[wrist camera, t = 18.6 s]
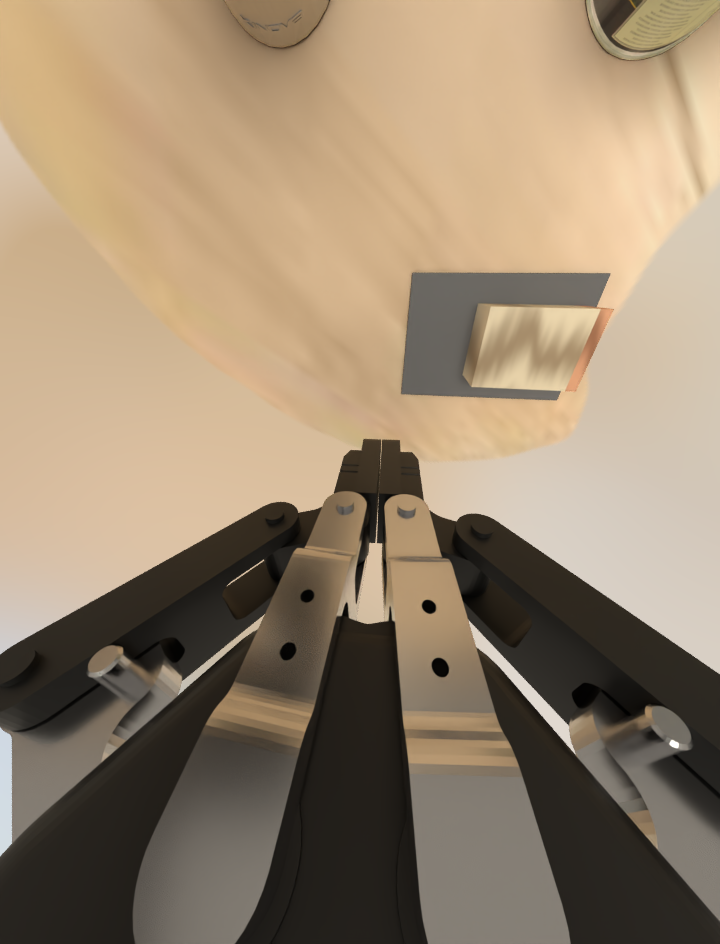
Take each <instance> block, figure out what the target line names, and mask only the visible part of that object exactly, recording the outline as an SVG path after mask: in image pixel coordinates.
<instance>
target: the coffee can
mask: <svg viewBox="0 0 720 944" xmlns="http://www.w3.org/2000/svg"><path fill="white" fill-rule="evenodd" d="M586 6H587V12H588V17H589V21H590V25H591V28H592V30H593V33H594V35H595V37H596V38H597V40H598V42H599V43H600V44H601V46H602V47H603V48H604V49H605V50H606V51H607V52H608V53H610V54H612V55H614V56H616V57H618V58H621V59H626V60H640V59H645V58H649V57H653V56H656V55H658V54H661V53H663V52H665V51H667V50H669V49H671V48H672V47H674V46H675V45H677V44H678V43H680V42H681V41H683V40H684V39H686V38H687V37H688V36H689V35H691V34H692V33H693V32H694V31H696V30H697V29H698V28H699V27H700V26H701V25H702V24H704V23H705V22H706V21H707V20H708V19H709V18H710V17H711V16H712V14H714V13H715V12H716V11H717V10H718V9H720V0H586Z"/></svg>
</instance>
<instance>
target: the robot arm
mask: <svg viewBox="0 0 720 944" xmlns="http://www.w3.org/2000/svg"><path fill="white" fill-rule="evenodd" d="M224 1H225V3H226V4H227V6H228V8H229V9H230V11H231V13H232V14H233V16H234V17H235V18H236V19H237V21H238V22H239V23H240V25H241V26H242V27H243V28H244V30H246V31H247V32H248V33H249V34H250V35H251V36H253V37H254V38H255V39H256V40H258V41H260V42H262V43H264V44H266V45H268V46H272V47H281V48H283V47H287V46H291V45H295V44H296V43H298V42H299V41H301V40H302V39H304V38H305V37H307V36H308V35H309V33H310V32H311V31H312V30H313V29H314V28H315V26H316V25H317V24H318V22H319V20H320V19H321V17H322V15H323V13H324V11H325V10H326V8H327V5H328V2H329V0H224ZM380 454H381V468H380ZM379 480H380V483H379ZM378 496H379V502H378ZM377 510H378V531H377V543H382V583H383V603H384V622H379V623H373V624H364V623H361V622H358V621H357V612H358V606H359V600H360V595H361V590H362V584H363V579H364V573H365V568H366V562H367V555H368V552H369V543H375V539H376V525H377ZM263 559H264V561H263V562H262V563H260V564H259V565H258V566H256V567H255V568H253V569H252V570H250V571H249V572H248V573H246V574H244V575H243V576H241V577H240V578H239V579H237V580H236V581H234V582H233V583H231V584H230V585H228V584H229V583H230V582H231V581H233V580H234V579H236V578H237V577H239V576H240V575H241V574H243V573H244V572H246V571H247V570H249V569H250V568H252V567H253V566H255V565H256V564H258V563H259V562H260V561H262V560H263ZM227 585H228V586H227ZM226 586H227V587H226ZM264 614H265V616H264V617H263V620H262V622H261V624H260V626H259V628H258V630H256V631H254V632H252V633H251V634H249V635H248V636H247V637H245V638H244V639H242V640H241V641H240V642H239V643H238V644H237V645H235V646H234V647H233V648H232V649H231V650H230V651H229V652H227V653H226V654H225V655H224V656H223V657H222V658H220V659H219V660H218V661H217V662H216V663H215V664H214V665H212V666H211V667H210V668H209V669H208V670H207V671H206V672H205V673H203V674H202V675H201V676H200V677H199V678H198V679H196V680H195V681H194V682H193V683H192V684H191V685H190V686H188V687H187V688H186V689H185V690H184V691H183V692H182V693H180V694H179V695H178V693H179V690H180V687H181V683H182V681H183V680H184V679H185V678H187V677H188V676H189V675H190V674H191V673H193V672H194V671H195V670H196V669H198V668H199V667H200V666H201V665H203V664H204V663H205V662H206V661H207V660H209V659H210V658H211V657H212V656H214V655H215V654H216V653H217V652H218V651H220V650H221V649H222V648H224V647H225V646H226V645H227V644H228V643H229V642H231V641H232V640H233V639H234V638H236V637H237V636H238V635H239V634H241V633H242V632H243V631H244V630H245V629H247V628H248V627H249V626H251V625H252V624H253V623H254V622H256V621H257V620H258V619H259V618H260V617H262V616H263V615H264ZM468 620H469V621H470V622H471V623H472V624H473V625H474V626H475V627H476V628H477V629H478V630H479V631H480V632H481V633H482V634H483V636H484V637H485V638H486V639H487V640H488V641H489V642H490V643H491V644H492V645H493V646H494V647H495V648H496V649H497V650H498V651H499V652H500V653H501V655H502V656H503V657H504V658H505V659H506V660H507V661H508V662H509V663H510V664H511V665H512V666H513V667H514V668H515V669H516V670H517V671H518V672H519V674H520V675H521V676H522V677H523V678H524V679H525V680H526V681H527V682H528V683H529V684H530V685H531V686H532V687H533V688H534V689H535V690H536V691H537V692H538V694H539V695H540V696H541V697H542V698H543V699H544V700H545V701H546V702H547V703H548V704H549V705H550V706H551V707H552V708H553V709H554V710H555V711H556V713H557V714H558V715H559V716H560V717H561V718H562V719H563V720H564V721H565V722H566V723H567V724H568V725H569V731H570V738H571V742H572V745H573V747H574V750H575V753H576V755H575V754H574V753H573V752H572V751H571V749H570V748H569V747H568V746H567V745H566V743H565V742H564V741H563V740H562V739H561V738H560V737H559V736H558V734H557V733H556V732H555V731H554V730H553V728H552V727H551V726H550V725H549V724H548V723H547V722H546V720H545V719H544V718H543V717H542V716H541V715H540V714H539V712H538V711H537V710H536V709H535V708H534V707H533V705H532V704H531V703H530V702H529V701H528V700H527V699H526V697H525V696H524V695H523V694H522V693H521V692H520V690H519V689H518V688H517V687H516V686H515V685H514V683H513V682H512V681H511V680H510V679H509V678H508V677H507V675H506V674H505V673H504V672H503V671H502V670H501V669H500V668H499V667H498V665H497V664H495V663H494V662H493V661H492V660H491V659H490V658H489V657H488V656H487V655H486V654H484V653H483V652H482V651H480V650H479V649H478V648H477V647H476V645H475V642H474V638H473V635H472V631H471V628H470V625H469V621H468ZM177 695H178V696H177ZM0 727H1V728H2V730H3V731H5V732H7V733H9V734H10V735H11V737H12V844H11V845H10V846H9V848H8V849H7V850H6V851H5V852H4V853H3V854H2V855H1V856H0V944H720V674H718V673H717V672H715V671H714V670H712V669H711V668H710V667H708V666H707V665H705V664H704V663H702V662H701V661H699V660H698V659H697V658H695V657H694V656H692V655H691V654H689V653H688V652H686V651H685V650H683V649H682V648H680V647H679V646H678V645H676V644H675V643H673V642H672V641H670V640H669V639H667V638H666V637H664V636H663V635H662V634H660V633H659V632H657V631H656V630H654V629H653V628H651V627H650V626H648V625H647V624H645V623H644V622H642V621H641V620H640V619H638V618H637V617H635V616H634V615H632V614H631V613H629V612H628V611H627V610H625V609H624V608H622V607H621V606H619V605H618V604H616V603H615V602H614V601H612V600H611V599H609V598H607V597H606V596H605V595H603V594H602V593H600V592H599V591H597V590H596V589H595V588H593V587H592V586H590V585H589V584H587V583H586V582H584V581H583V580H582V579H580V578H578V577H577V576H576V575H574V574H573V573H571V572H570V571H568V570H567V569H565V568H564V567H563V566H561V565H560V564H558V563H557V562H555V561H554V560H552V559H551V558H549V557H548V556H546V555H545V554H544V553H542V552H541V551H539V550H538V549H536V548H535V547H533V546H532V545H531V544H529V543H528V542H526V541H525V540H523V539H522V538H520V537H519V536H517V535H516V534H515V533H513V532H511V531H510V530H509V529H507V528H506V527H504V526H503V525H501V524H500V523H499V522H497V521H495V520H494V519H492V518H490V517H488V516H485V515H481V514H467V515H464V516H462V517H460V518H459V519H458V520H457V522H456V521H452V520H448V519H445V518H442V517H440V516H438V515H436V514H434V513H433V512H431V511H430V510H429V508H428V506H427V504H426V503H425V502H424V499H423V492H422V484H421V477H420V470H419V462H418V459H417V458H416V456H415V455H414V454H413V453H412V452H400V440H382V453H381V440H378V439H364V440H363V445H362V451H361V450H350V451H349V452H348V453H347V454H346V455H345V456H344V458H343V462H342V466H341V469H340V473H339V476H338V480H337V484H336V487H335V491H334V494H332V495H331V496H329V497H328V498H327V499H326V500H325V502H324V504H323V506H322V507H321V508H318V509H316V510H311V511H306V512H300V513H298V510H297V508H296V507H295V506H294V505H292V504H290V503H286V502H276V503H271V504H268V505H266V506H263V507H262V508H260V509H258V510H256V511H255V512H253V513H251V514H249V515H247V516H246V517H244V518H242V519H240V520H238V521H237V522H235V523H233V524H231V525H229V526H228V527H226V528H224V529H222V530H220V531H218V532H217V533H215V534H213V535H211V536H209V537H208V538H206V539H204V540H202V541H200V542H199V543H197V544H195V545H193V546H191V547H190V548H188V549H186V550H184V551H182V552H181V553H179V554H177V555H175V556H173V557H172V558H170V559H168V560H166V561H164V562H163V563H161V564H159V565H157V566H155V567H153V568H152V569H150V570H148V571H147V572H144V573H143V574H141V575H139V576H137V577H136V578H134V579H132V580H130V581H128V582H127V583H125V584H123V585H121V586H119V587H118V588H116V589H114V590H112V591H111V592H108V593H107V594H105V595H103V596H101V597H100V598H98V599H96V600H94V601H92V602H90V603H89V604H87V605H85V606H83V607H81V608H80V609H78V610H76V611H74V612H72V613H71V614H69V615H67V616H65V617H63V618H62V619H60V620H58V621H56V622H54V623H53V624H51V625H49V626H47V627H45V628H44V629H42V630H40V631H38V632H36V633H35V634H33V635H31V636H29V637H27V638H25V639H24V640H22V641H20V642H18V643H17V644H15V645H13V646H12V647H10V648H9V649H7V650H6V651H5V652H3V653H2V654H0Z"/></svg>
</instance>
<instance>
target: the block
mask: <svg viewBox="0 0 720 944" xmlns="http://www.w3.org/2000/svg"><path fill="white" fill-rule="evenodd" d="M613 310H614V309H607V308H599V307H591V306H579V305H532V304H486V303H478V306H477V311H476V315H475V320H474V324H473V329H472V334H471V338H470V343H469V347H468V352H467V356H466V361H465V365H464V370H463V376H464V378H465V379H466V380H467V382H468V383H469V384H470V386H471V387H485V388H507V389H529V390H551V391H574V392H576V389H577V387H578V385H579V383H580V381H581V379H582V377H583V374H584V372H585V370H586V368H587V366H588V364H589V361H590V359H591V357H592V355H593V353H594V351H595V348H596V346H597V344H598V342H599V340H600V338H601V335H602V333H603V331H604V329H605V327H606V325H607V322H608V320H609V318H610V316H611V314H612V312H613Z"/></svg>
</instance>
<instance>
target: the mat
mask: <svg viewBox="0 0 720 944" xmlns="http://www.w3.org/2000/svg"><path fill="white" fill-rule="evenodd" d="M610 274H611V273H412V283H411V294H410V305H409V316H408V327H407V337H406V348H405V359H404V370H403V381H402V392H401V394H411V395H436V396H461V397H486V398H511V399H536V400H557V399H558V397H559V394H560V392H561V391H551V390H529V389H507V388H485V387H471V386H470V384H469V383H468V382H467V380H466V379H465V378H464V376H463V370H464V365H465V361H466V356H467V352H468V347H469V343H470V338H471V334H472V329H473V324H474V320H475V315H476V311H477V306H478V303H486V304H532V305H579V306H591V307H597V304H598V302H599V300H600V297H601V295H602V293H603V290H604V288H605V286H606V283H607V281H608V278H609V276H610Z"/></svg>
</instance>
